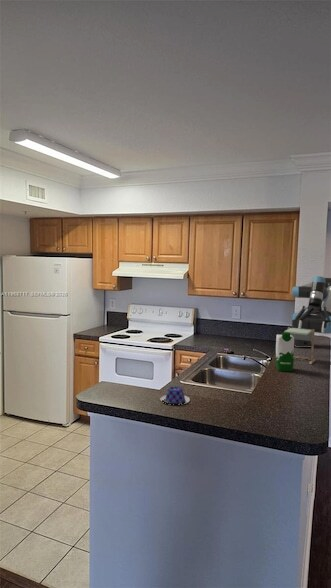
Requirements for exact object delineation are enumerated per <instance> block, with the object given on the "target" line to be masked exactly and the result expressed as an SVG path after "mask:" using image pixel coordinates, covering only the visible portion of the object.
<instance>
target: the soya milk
mask: <svg viewBox="0 0 331 588" xmlns="http://www.w3.org/2000/svg"><path fill="white" fill-rule="evenodd" d="M294 353H295V347H294V337H293V336H292V335H291V333H289V332H284V331H283V332H282V333H281V334H276V338H275V368H276V369H277V371H278V372H293V369H294V362H295V361H294V359H295V358H294V356H295V354H294Z"/></svg>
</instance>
